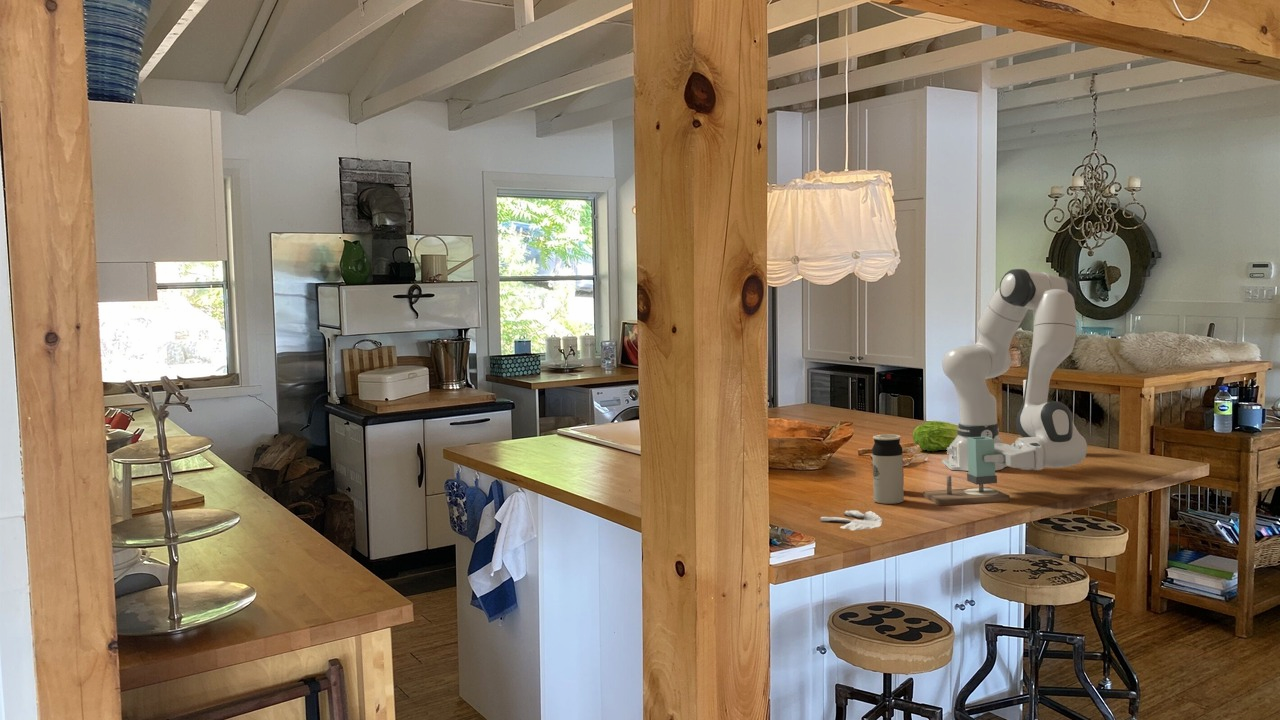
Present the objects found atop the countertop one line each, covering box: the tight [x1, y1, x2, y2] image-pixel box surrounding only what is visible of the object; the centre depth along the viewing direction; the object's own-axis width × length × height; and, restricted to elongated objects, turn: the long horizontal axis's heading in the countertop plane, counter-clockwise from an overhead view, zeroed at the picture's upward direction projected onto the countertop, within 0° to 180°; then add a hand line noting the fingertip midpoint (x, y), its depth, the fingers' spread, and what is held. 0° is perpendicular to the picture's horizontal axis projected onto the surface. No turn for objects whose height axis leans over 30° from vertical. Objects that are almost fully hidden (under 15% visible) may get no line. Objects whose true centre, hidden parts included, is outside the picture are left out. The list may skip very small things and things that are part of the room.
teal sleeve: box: [966, 436, 998, 486], centre depth 269 cm, size 6×6×12 cm
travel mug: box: [871, 434, 905, 505], centre depth 270 cm, size 8×8×18 cm
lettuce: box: [912, 420, 959, 452], centre depth 349 cm, size 12×24×13 cm
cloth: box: [819, 509, 884, 531], centre depth 252 cm, size 20×22×2 cm
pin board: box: [923, 475, 1010, 506], centre depth 269 cm, size 12×19×6 cm, turn 95°
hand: (977, 456), depth 269 cm, fingers closed on teal sleeve, 5 cm apart
